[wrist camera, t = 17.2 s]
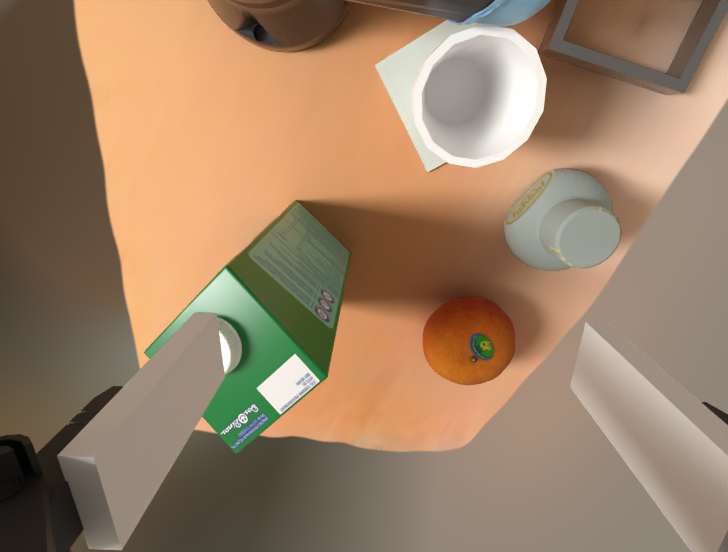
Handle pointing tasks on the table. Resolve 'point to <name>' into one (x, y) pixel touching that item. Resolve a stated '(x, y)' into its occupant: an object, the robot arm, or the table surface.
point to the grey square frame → (669, 83)
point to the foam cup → (479, 95)
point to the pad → (402, 76)
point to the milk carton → (271, 322)
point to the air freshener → (563, 222)
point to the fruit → (469, 340)
